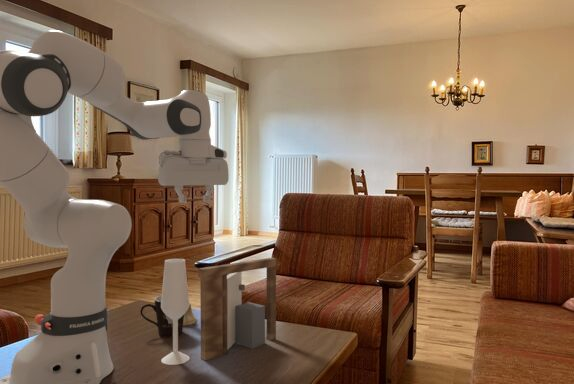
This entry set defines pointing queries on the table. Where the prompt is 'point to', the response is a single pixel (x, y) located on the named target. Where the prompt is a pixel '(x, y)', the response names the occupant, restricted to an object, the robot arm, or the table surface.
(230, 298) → the door
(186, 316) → the hand bell
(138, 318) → the table surface
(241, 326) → the doorstop
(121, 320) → the table surface
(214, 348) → the door frame
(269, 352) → the table surface
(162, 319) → the coffee mug
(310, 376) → the table surface
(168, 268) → the champagne flute
